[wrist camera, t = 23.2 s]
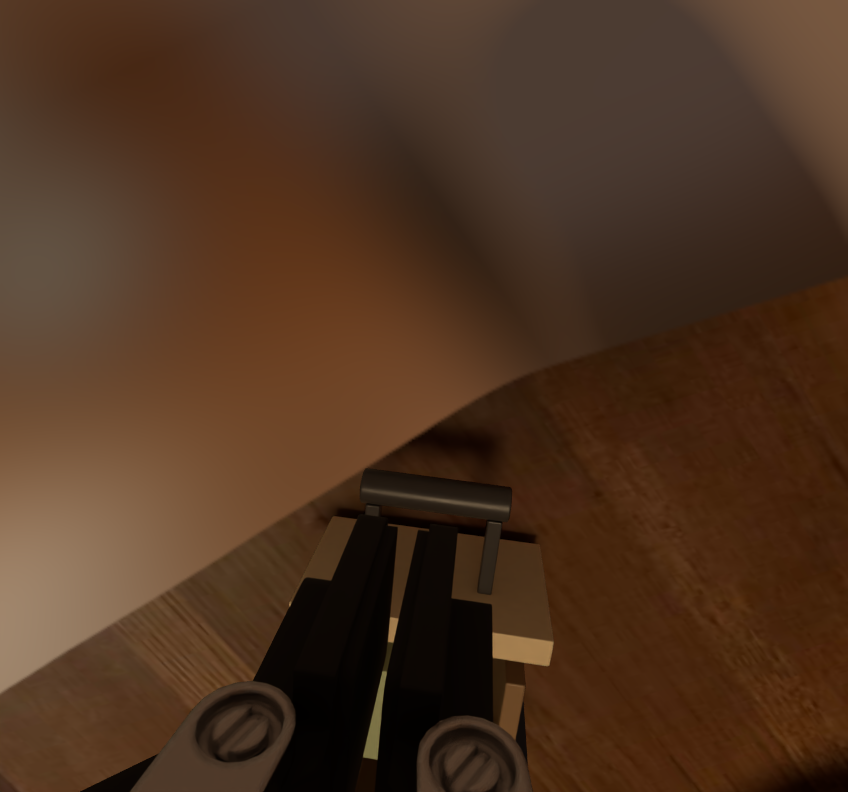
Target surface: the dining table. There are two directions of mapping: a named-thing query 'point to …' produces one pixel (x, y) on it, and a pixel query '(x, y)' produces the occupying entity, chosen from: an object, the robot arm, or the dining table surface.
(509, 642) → the drawer
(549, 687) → the dining table surface
